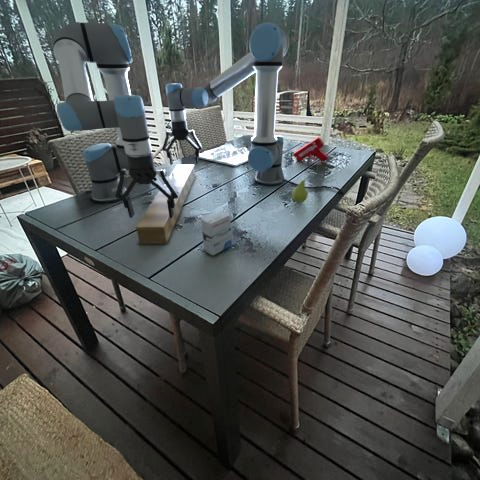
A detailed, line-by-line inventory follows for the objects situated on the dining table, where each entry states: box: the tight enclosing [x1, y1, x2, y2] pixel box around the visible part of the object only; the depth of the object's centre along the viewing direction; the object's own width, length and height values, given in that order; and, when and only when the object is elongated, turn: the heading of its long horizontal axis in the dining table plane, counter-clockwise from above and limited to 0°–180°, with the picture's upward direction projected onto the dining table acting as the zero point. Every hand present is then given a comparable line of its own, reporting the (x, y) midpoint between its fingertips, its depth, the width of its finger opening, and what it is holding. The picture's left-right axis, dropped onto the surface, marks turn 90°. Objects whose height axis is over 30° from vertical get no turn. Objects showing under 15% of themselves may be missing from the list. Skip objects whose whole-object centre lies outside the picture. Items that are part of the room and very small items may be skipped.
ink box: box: [200, 210, 232, 257], centre depth 88 cm, size 8×5×12 cm, turn 135°
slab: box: [135, 164, 196, 245], centre depth 121 cm, size 68×9×7 cm, turn 0°
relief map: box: [198, 142, 250, 167], centre depth 181 cm, size 27×35×5 cm
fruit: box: [291, 174, 311, 204], centre depth 118 cm, size 7×8×12 cm
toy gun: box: [293, 136, 329, 164], centre depth 170 cm, size 18×4×15 cm
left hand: (151, 216), depth 93 cm, fingers open, 13 cm apart
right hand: (184, 163), depth 143 cm, fingers open, 13 cm apart
